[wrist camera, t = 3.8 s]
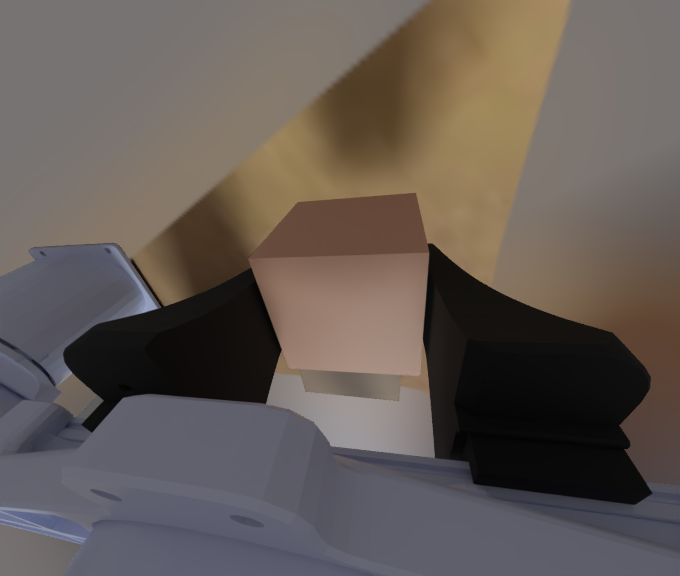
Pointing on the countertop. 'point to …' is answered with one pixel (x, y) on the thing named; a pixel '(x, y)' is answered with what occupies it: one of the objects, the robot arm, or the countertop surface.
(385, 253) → the terracotta cube
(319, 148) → the countertop surface
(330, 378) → the walnut slab
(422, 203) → the countertop surface
